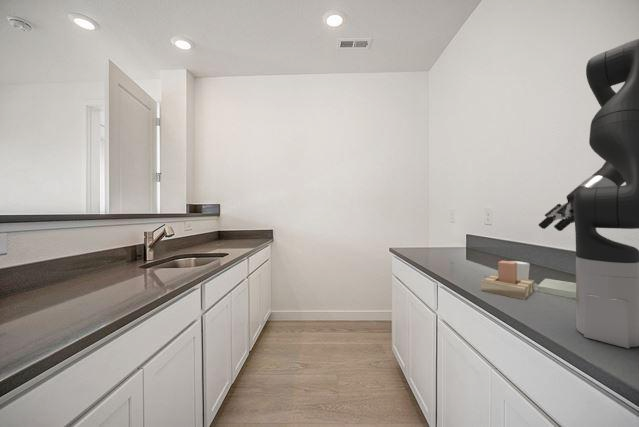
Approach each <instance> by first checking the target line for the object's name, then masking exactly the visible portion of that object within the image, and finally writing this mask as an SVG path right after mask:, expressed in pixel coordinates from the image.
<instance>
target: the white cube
mask: <svg viewBox="0 0 639 427" xmlns="http://www.w3.org/2000/svg"><path fill="white" fill-rule="evenodd" d="M510 262H517V278H522V279H529V274H530V268H531V266H530V265H531V264H530V262H525V261H519V260H510Z"/></svg>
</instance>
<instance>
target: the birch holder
mask: <svg viewBox="0 0 639 427" xmlns="http://www.w3.org/2000/svg"><path fill="white" fill-rule="evenodd" d="M480 288H481V289H480V291H482V292H486V293H491V294H495V295H500V296H505V297H511V298H515V299H519V300H526V299H527V298H529V296H531V294H533V293H534V292H535V289H536V288H535V280H534V279H529V278H528V279H522V278H517V284H512V283H506V282H500V281H498V273H497V274H495V273H493V274H491V275H489V276H488V277H486V278H484V279H481V281H480Z"/></svg>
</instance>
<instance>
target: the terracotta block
mask: <svg viewBox="0 0 639 427" xmlns="http://www.w3.org/2000/svg"><path fill="white" fill-rule="evenodd" d="M510 261H511V260H510ZM510 261H509V260H501V261H498V262H497V275H498V281H500V282H506V283H512V284H517V262H510Z"/></svg>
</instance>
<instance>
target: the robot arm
mask: <svg viewBox="0 0 639 427" xmlns="http://www.w3.org/2000/svg"><path fill="white" fill-rule="evenodd" d="M586 63H587V64H586V67H585V68H586V69H585V75H586V80H587V83H588V86H589V88H590V90H591V92H592V94H593V96H594V97H595V100H596V101H597V102H598V105H599V106H600V109H599V110H598V111H597V112H596V113H595V115H594V116H593V118H592V120H591V122H590V127H589V141H588V142H589V146H590V148H591V149H592V151H593V152H594V153H595V154H596V155H598V156H599V157H600V158H601V159H603V160H604V161H605V162H604V163H603V165H602V167H601V168H599V169H598V170H597V171H596V172H594V173H593V174H592V175H591V176H590V177H588V178H587V179H585V180H584V181H582V182H581V183H580V184H579V185H578V186H577V187H576V188H574V189H573V190H572V191H571V192H569V193H568V194H567V195H566V201H567V202H566V203H564V204H561V203H557V204H556V205H555V206H554V207H553V208H551V209H550V210H549V211H547V213H544V216H545V217H546V218H544V219H543V220H541V222H540V223H538V226H539V228H541V229H542V230H543V229H547V228H548V227H549V226H550V225H551V224H553V223H554V222H556V221H558V220H559V221H558V222H557V223H555V224H554V225H553V228H554V229H556V230H557V231H558V232H561V231H563V230H564V229H566V228H567V227H568V226H570V225H571V224H574V231H575V283H576V299H575V311H576V312H575V313H576V314H575V316H576V331H578V332H579V333H581V334H582V335H583V337H585V338H586V339H591V340H595V341H599V342H602V343H606V344H610V345H614V346H617V347H621V348H625V349H630V348H634V347H639V249H638V248H636V247H634V246H632V245H629V244H625V243H621V242H618V241H615V240H612V239H610V238H607V237H605V236H603V235H601V233H599V232H598V231H597V229H617V230H618V229H620V230H623V229H624V230H626V229H627V230H633V229H635V230H637V229H638V230H639V38H636V39H634V40H631V41H629V42H625V43H624V44H620V45H618V46H615V47H614V48H610V49H609V50H605V51H603V52H601V53H599V54H596V55H594V56H592V57H591V58H590V59H589V60H588V61H587V62H586ZM622 83H623V85H622V86H621V88H619V89H618V91H617V92H616V91H615V90H613V88H612V87H613V86H616V85H619V84H622ZM624 183H625V185H623V184H624Z"/></svg>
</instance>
